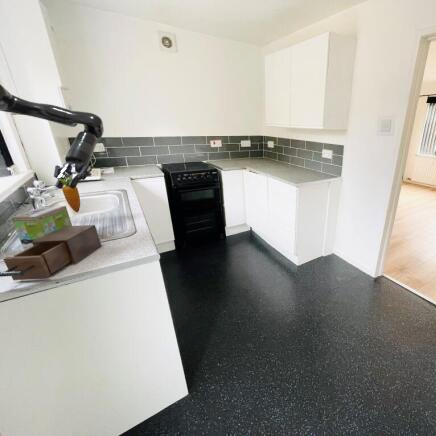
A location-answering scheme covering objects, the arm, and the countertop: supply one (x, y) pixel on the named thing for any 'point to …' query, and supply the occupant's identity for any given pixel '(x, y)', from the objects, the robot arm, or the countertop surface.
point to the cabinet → (74, 240)
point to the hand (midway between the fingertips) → (64, 187)
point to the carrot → (71, 195)
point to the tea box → (40, 223)
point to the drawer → (37, 261)
